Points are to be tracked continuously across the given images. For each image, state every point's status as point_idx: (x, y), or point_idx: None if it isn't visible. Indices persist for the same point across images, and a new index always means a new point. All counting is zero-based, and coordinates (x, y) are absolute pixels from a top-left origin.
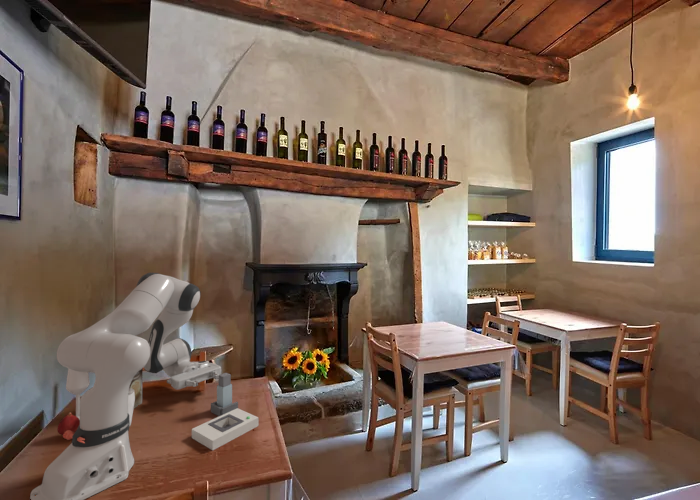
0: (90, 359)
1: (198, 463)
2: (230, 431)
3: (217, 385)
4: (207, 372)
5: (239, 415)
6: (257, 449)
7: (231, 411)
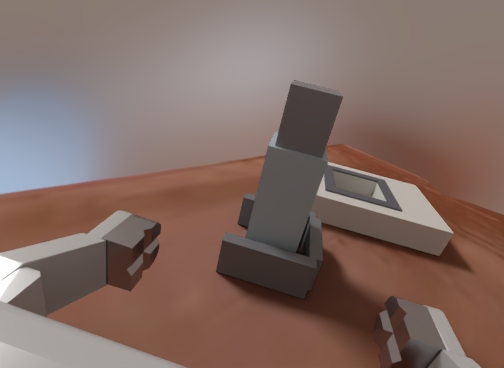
0: None
1: (442, 208)
2: (368, 173)
3: (326, 160)
4: (96, 336)
5: None
6: (340, 162)
7: None
